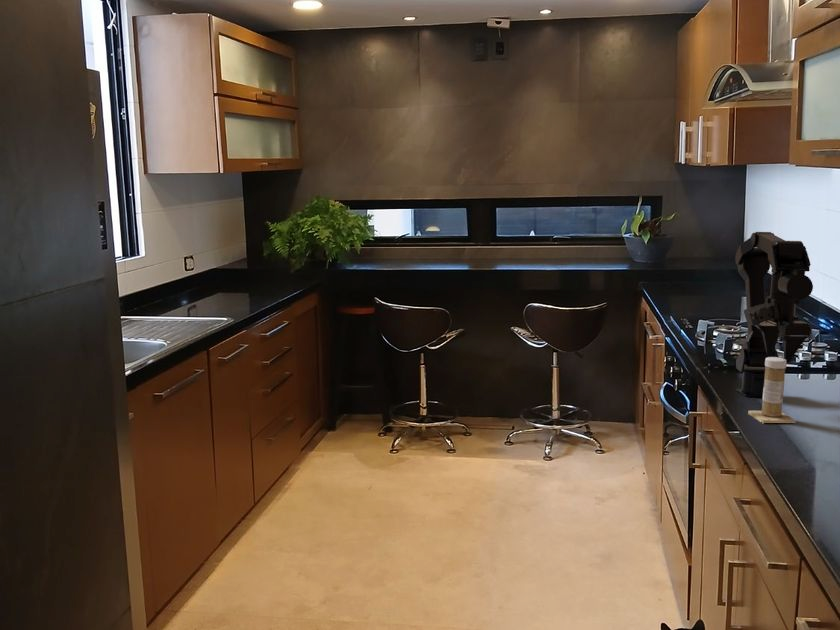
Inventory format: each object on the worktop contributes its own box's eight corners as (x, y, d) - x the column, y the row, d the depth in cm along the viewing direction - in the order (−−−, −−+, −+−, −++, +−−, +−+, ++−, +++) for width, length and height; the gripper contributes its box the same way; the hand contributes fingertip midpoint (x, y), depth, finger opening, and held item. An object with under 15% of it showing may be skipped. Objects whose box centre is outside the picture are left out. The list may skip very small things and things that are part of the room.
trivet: (748, 413, 199) (748, 410, 199) (779, 413, 199) (779, 410, 199) (763, 423, 191) (763, 419, 191) (795, 423, 191) (795, 419, 191)
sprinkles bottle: (767, 411, 198) (772, 355, 196) (785, 415, 195) (790, 359, 192) (756, 414, 195) (761, 357, 193) (775, 418, 192) (780, 361, 190)
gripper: (733, 288, 206) (728, 350, 208) (767, 299, 187) (761, 367, 190) (778, 288, 206) (772, 350, 209) (816, 299, 188) (809, 367, 190)
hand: (777, 358), depth 199 cm, fingers open, 9 cm apart
